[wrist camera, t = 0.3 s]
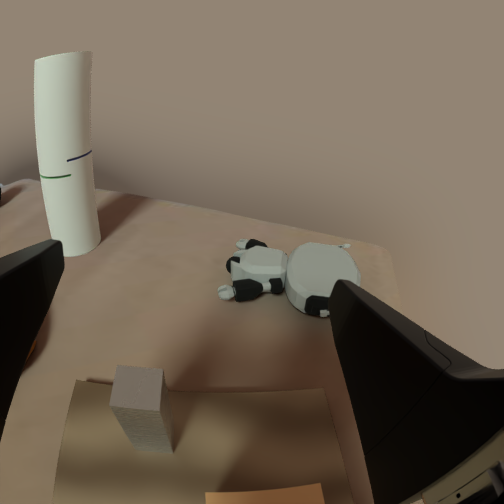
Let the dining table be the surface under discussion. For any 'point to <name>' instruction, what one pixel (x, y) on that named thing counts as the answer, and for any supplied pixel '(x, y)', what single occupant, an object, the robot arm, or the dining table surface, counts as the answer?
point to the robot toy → (289, 273)
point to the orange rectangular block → (270, 496)
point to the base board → (201, 449)
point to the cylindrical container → (66, 149)
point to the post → (143, 408)
